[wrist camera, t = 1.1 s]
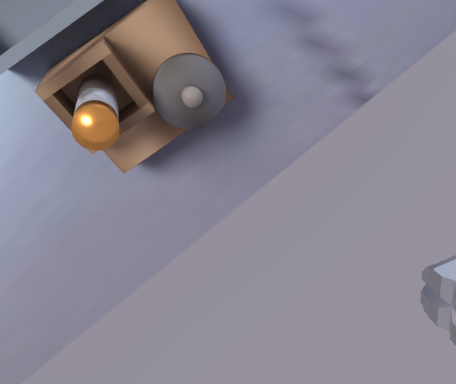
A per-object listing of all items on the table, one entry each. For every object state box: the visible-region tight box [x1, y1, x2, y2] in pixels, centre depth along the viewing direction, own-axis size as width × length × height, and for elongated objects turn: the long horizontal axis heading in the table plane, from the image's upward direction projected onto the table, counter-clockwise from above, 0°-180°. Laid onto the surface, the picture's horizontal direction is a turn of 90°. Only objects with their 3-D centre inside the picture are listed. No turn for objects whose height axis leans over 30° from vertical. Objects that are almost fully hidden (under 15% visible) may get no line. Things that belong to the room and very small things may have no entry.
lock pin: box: [71, 73, 119, 151], centre depth 28 cm, size 3×3×9 cm
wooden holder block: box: [35, 0, 234, 174], centre depth 33 cm, size 12×10×7 cm
